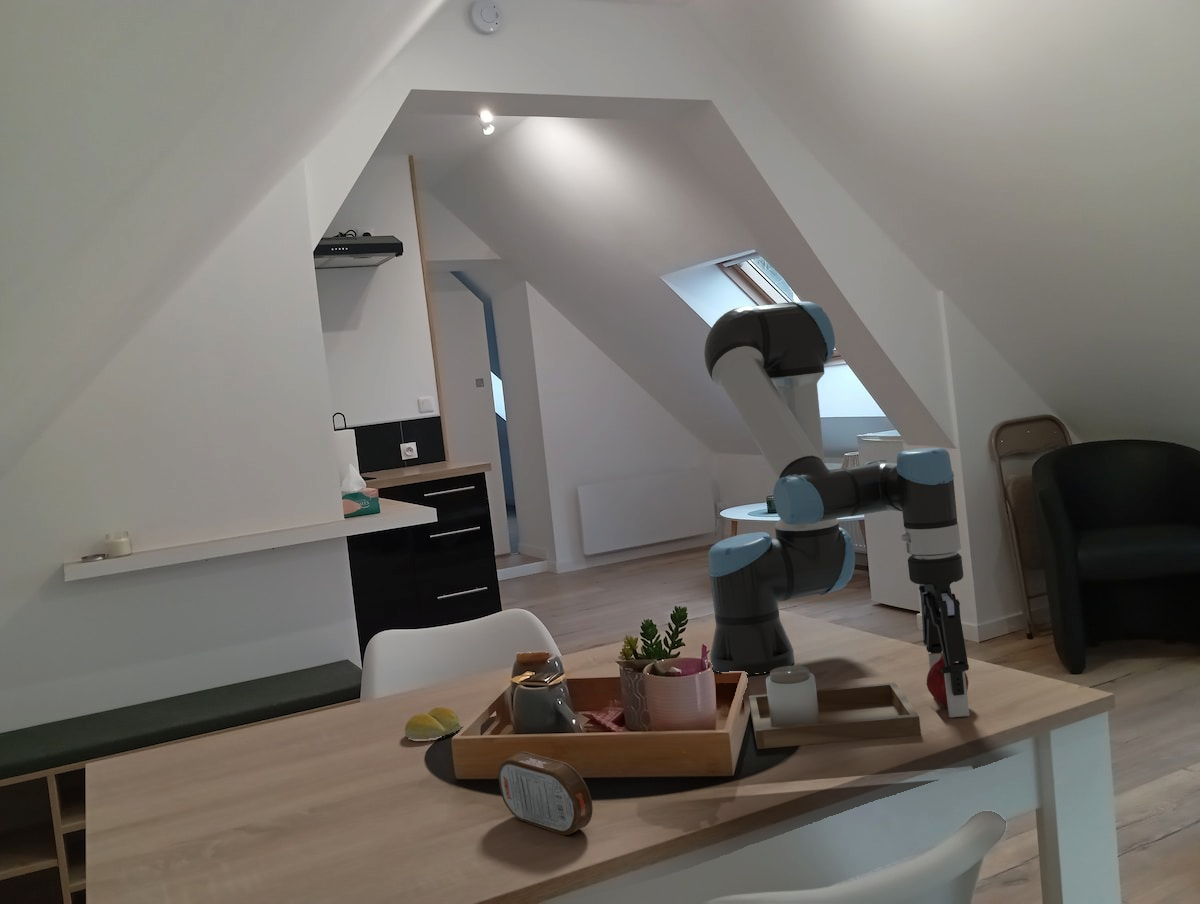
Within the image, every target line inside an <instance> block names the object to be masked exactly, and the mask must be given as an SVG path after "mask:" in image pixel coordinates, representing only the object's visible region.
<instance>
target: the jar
mask: <svg viewBox="0 0 1200 904" xmlns="http://www.w3.org/2000/svg"><path fill="white" fill-rule="evenodd" d="M815 676H816V675H815V674H813V673H812V672H810V669H809V668H808V667H806V666H803V665H790V666H784V667H779V668H775V669H773V670H771V671H770V673H769V675H768V676H766V678H765V686H766V687H765V688H766V694H767V696H768V705H769V713H770V722H771V727H778V726H789V725H800V724H811V723H820V718H819V710H818V701H817V692H816V690H817V685H816V684H817V683H816V677H815Z"/></svg>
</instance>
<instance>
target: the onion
mask: <svg viewBox="0 0 1200 904" xmlns="http://www.w3.org/2000/svg"><path fill="white" fill-rule="evenodd" d="M954 663H957V662H954ZM942 668H945V662H944V658H943V654H941V658H940V660H939V661H938V662H936V663H935V664H934V665H933V666H932V667H931V669H930V668H929V670H928V673H927V676H926V686H927V689H928V691H929V693H930V695H931V696H932V697H933V699H935V701H937V702H939V703H940V704H942V705H944V706H945V707H947V708H948V705H947V695H946V686H945V677H944V673H943V674H942V673H941V669H942ZM965 679H966V688H967V691H968V690H969V678H968V675H967V672H965Z"/></svg>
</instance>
